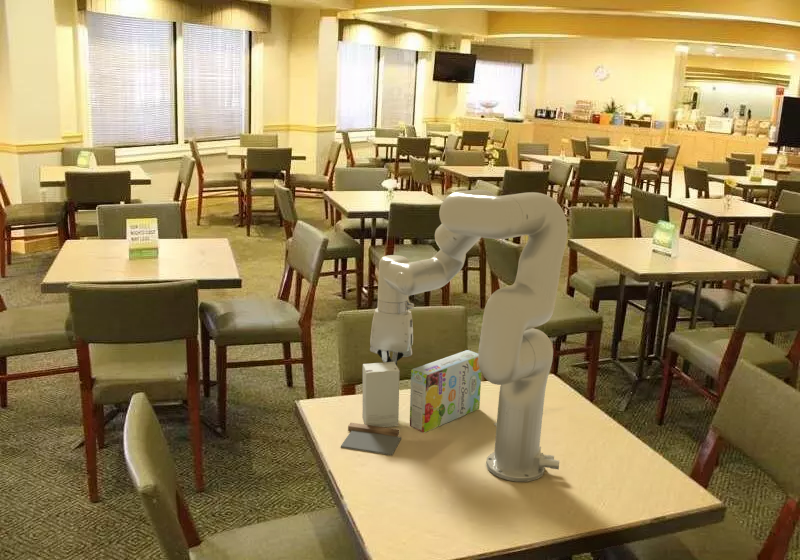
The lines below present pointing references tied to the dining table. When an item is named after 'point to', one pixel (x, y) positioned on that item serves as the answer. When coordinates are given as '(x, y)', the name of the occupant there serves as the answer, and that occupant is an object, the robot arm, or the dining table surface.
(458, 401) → the snack box
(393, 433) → the rail
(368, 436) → the mat
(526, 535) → the dining table surface
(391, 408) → the skincare box
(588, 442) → the dining table surface
